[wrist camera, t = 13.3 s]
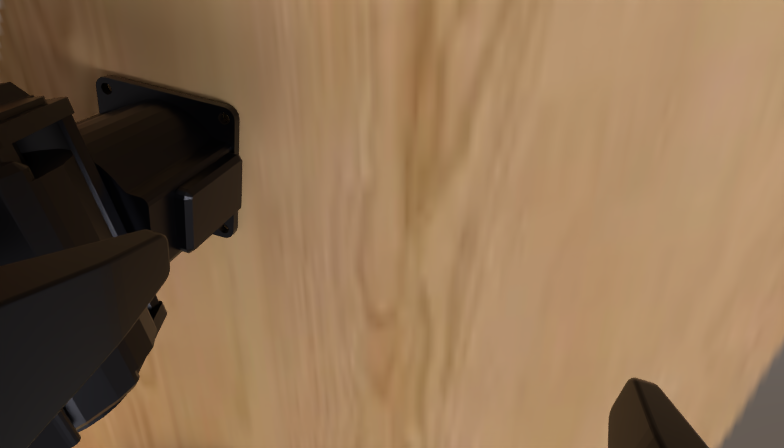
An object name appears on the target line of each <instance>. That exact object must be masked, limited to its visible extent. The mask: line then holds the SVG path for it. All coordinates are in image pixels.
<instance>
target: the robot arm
mask: <svg viewBox="0 0 784 448" xmlns="http://www.w3.org/2000/svg"><path fill="white" fill-rule="evenodd" d="M108 84H109V85H110V87H111V89H112V91H110V89H109V88H108ZM96 89H97V97H98V104H99V112H100V114H98V115H95V116H92V117H90V118H87V119H85V120H82V121H79V122H77V123H75V121H74V118H73V116H72V114H73V113H74V110H73V108H72V106H71V104H70V102H69V100H68V97H61V98H54V99H48V100H45V98H44V96H39V97H34V95H31V96H30V95H28V94H27V93H26V92H24V91H23V90H21V89H20V88H18V87H17V86H16V85H14V84H13V83H11V82H7V83H1V84H0V448H71V447H73V446H75V445H76V444H77V443H78V442H79V441H80V439H81V436H80V435H79V433H78V432H80V431H82V430H84V429H86V428H88V427H89V426H91V425H92V424H94V423H95V422H97V421H98V420H100V419H101V418H103V417H104V416H105V415H107V414H108V413H109V412H110V411H111V410H112V409H114V408H115V407H116V406H117V405H118V404H119V403H120V402H121V401H122V399H123V398H124V397H125V396H126V395H127V394H128V393H129V392H130V391H131V390H132V389H133V388H134V387H135V385H136V383H137V382H138V380H139V374H138V373H139V371H140V369H141V367H142V365H143V363H144V361H145V359H146V357H147V355H148V354H149V352H150V351H151V349H152V348H153V346H154V341H155V338H156V336H157V334H158V332H159V330H160V328H161V326H162V324H163V321H164V319H165V317H166V315H167V311H166V309H165V307H164V305H163V303H162V301H158V299H157V296H156V293H157V292H158V291H159V289H160V288H161V287H162V285H163V284H164V282H165V281H166V279H167V277H168V275H169V272H170V262H171V261H172V260H173V259H174V258H175V257H176V256H177V255H178V254H180V253H181V252H182V251H183V252H187V253H190V252H192V251H194V250H195V249H196V248H198V247H199V246H200V245H201V244H202V243H203V242H204V241H205V240H206V239H207V238H208V237H210V236H211V235H212V234H214V235H217V236H221V237H225V238H228V237H231V236H232V235H233V234H234V233H235V232H236V231H237V228H238V210H239V209H240V208H241V196H242V160H241V158H240V156H239V114H238V112H237V110H236V109H235V108H234V107H233V106H230V105H228V104H224V103H220V102H216V101H212V100H208V99H204V98H200V97H196V96H192V95H188V94H184V93H180V92H176V91H172V90H168V89H164V88H160V87H156V86H152V85H148V84H144V83H140V82H136V81H132V80H128V79H124V78H121V77H117V76H113V75H107V76H103V77H101V78H99V79H98V80H97V82H96ZM223 113H225V114H227V115H228V117H229V122H228V121H226V120H225V119H224V117H223ZM223 224H225V225H226V226H227V227H228V229H227V228H225V227H224V225H223ZM608 448H709V447H708V446H707V445H706V444H705V442H704V441H703V440H702V439H701V437H700V436H699V435H698V434H697V433H696V431H695V430H694V429H693V428H692V426H691V425H690V424H689V423H688V422H687V420H686V419H685V418H684V417H683V416H682V414H681V413H680V412H679V411H678V409H677V408H676V407H675V406H674V405H673V403H672V402H671V401H670V400H669V398H668V397H667V396H666V395H665V394H664V392H663V391H662V390H661V389H660V388H659V387H658V386H657V385H656V384H654V383H651V382H648V381H645V380H642V379H638V378H631V379H629V380H628V381H627V383H626V384H625V386H624V388H623V389H622V391H621V393H620V394H619V396H618V398H617V399H616V401H615V403H614V404H613V406H612V408H611V411H610V415H609V426H608Z"/></svg>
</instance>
